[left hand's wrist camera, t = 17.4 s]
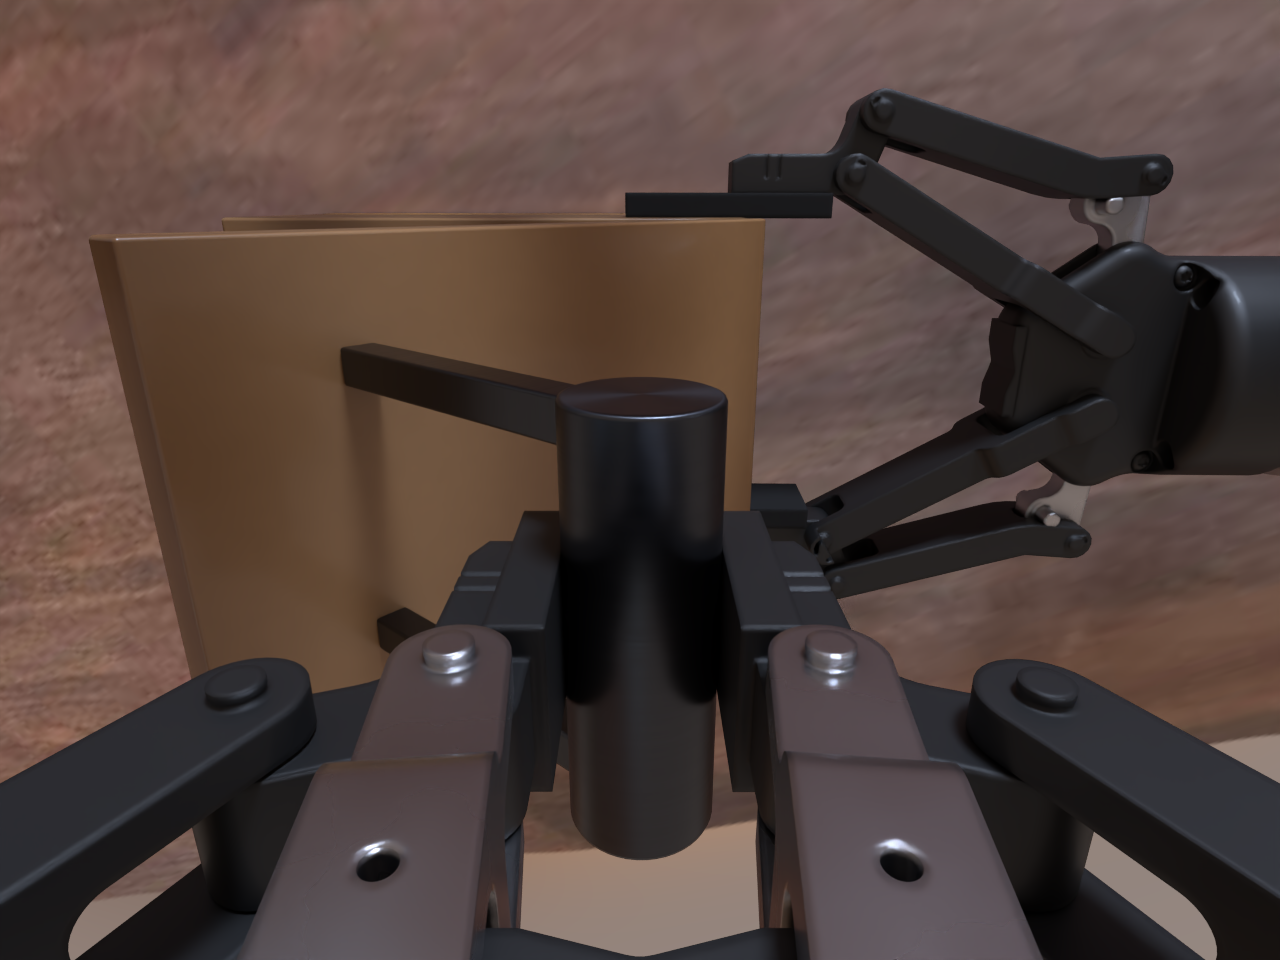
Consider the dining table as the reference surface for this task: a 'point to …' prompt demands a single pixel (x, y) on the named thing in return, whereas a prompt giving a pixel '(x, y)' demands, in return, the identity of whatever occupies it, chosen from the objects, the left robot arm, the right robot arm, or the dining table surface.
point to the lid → (458, 458)
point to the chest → (417, 220)
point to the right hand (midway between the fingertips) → (627, 364)
